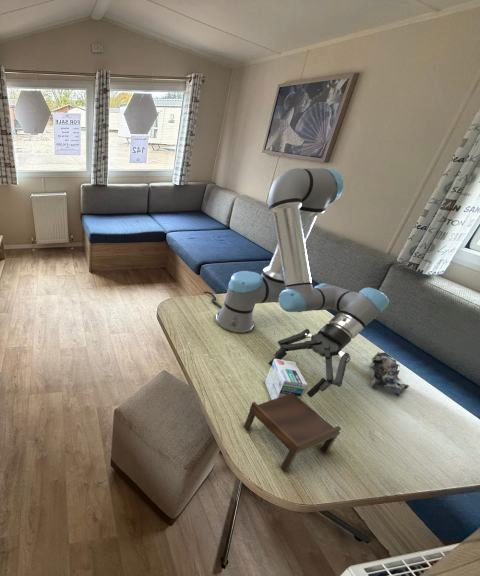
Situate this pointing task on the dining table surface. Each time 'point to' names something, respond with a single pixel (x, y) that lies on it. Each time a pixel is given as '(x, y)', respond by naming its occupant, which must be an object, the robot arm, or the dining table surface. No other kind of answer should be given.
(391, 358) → the grey rugged figurine
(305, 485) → the dining table surface
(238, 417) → the dining table surface
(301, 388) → the light bulb box
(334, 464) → the dining table surface
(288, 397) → the wooden step stool
